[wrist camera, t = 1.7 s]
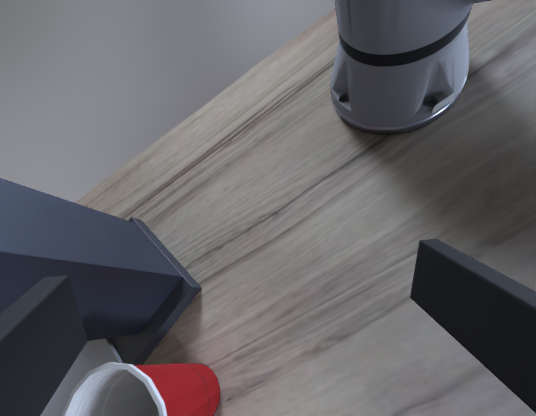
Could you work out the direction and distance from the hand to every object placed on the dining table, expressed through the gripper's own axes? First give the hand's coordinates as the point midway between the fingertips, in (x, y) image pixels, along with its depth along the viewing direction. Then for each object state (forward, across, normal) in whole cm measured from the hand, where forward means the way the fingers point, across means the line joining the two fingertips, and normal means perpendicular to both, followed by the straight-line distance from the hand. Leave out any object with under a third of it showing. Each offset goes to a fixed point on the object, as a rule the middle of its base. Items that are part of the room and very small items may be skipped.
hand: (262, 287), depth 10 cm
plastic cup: (+14, -6, -23) cm, 28 cm away
